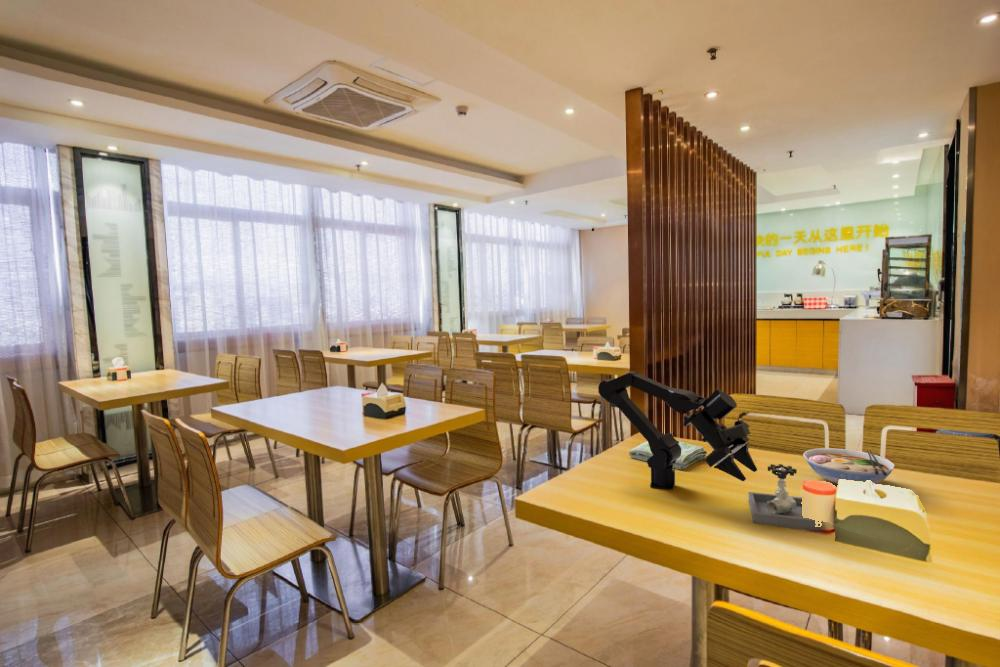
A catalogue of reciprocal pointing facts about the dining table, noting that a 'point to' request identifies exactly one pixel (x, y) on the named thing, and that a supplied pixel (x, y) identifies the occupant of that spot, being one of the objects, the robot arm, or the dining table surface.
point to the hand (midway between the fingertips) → (750, 475)
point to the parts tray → (785, 520)
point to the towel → (686, 459)
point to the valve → (781, 491)
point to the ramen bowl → (848, 465)
